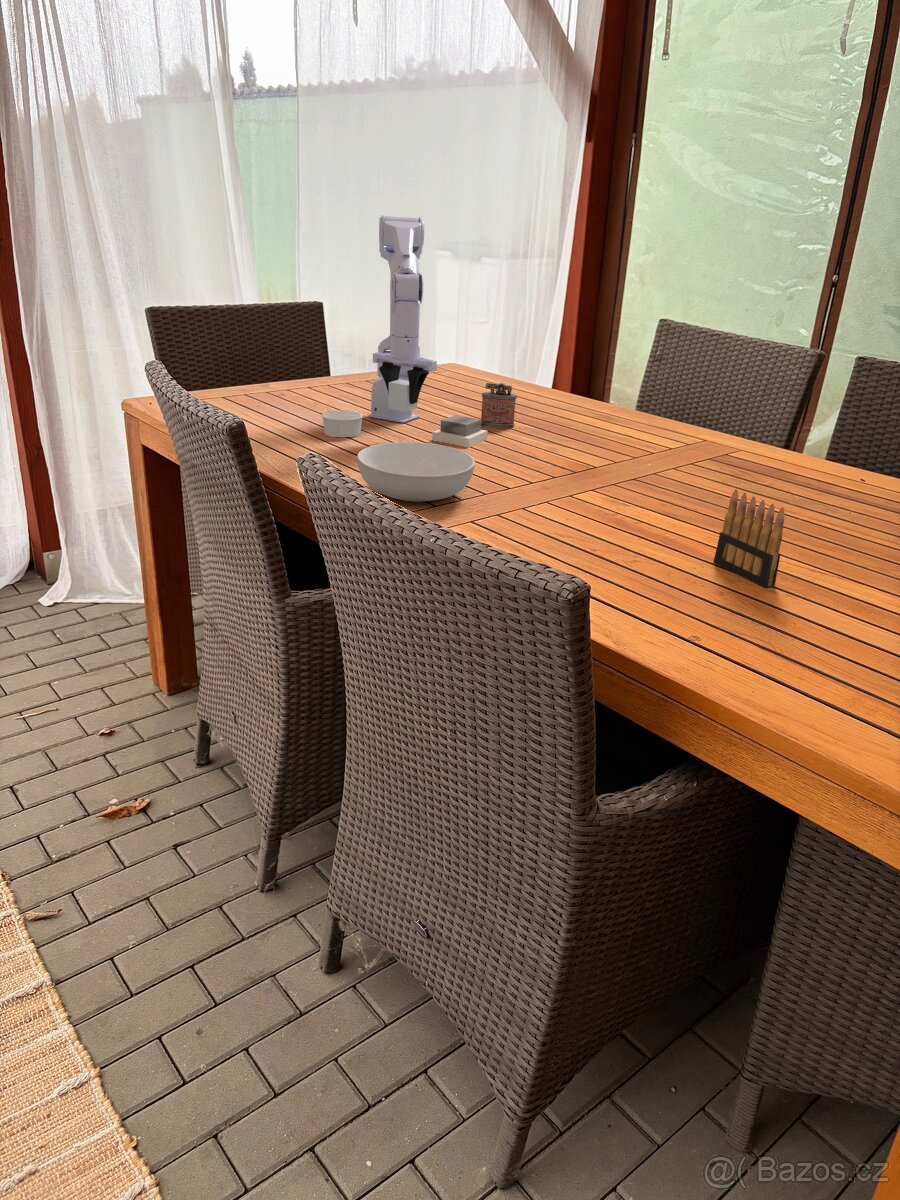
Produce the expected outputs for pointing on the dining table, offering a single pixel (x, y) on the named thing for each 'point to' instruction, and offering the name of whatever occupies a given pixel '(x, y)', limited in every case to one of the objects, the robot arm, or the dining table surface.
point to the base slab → (460, 438)
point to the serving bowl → (415, 470)
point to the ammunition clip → (750, 541)
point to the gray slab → (460, 425)
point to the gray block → (400, 396)
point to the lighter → (498, 406)
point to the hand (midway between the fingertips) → (403, 401)
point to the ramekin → (342, 423)
